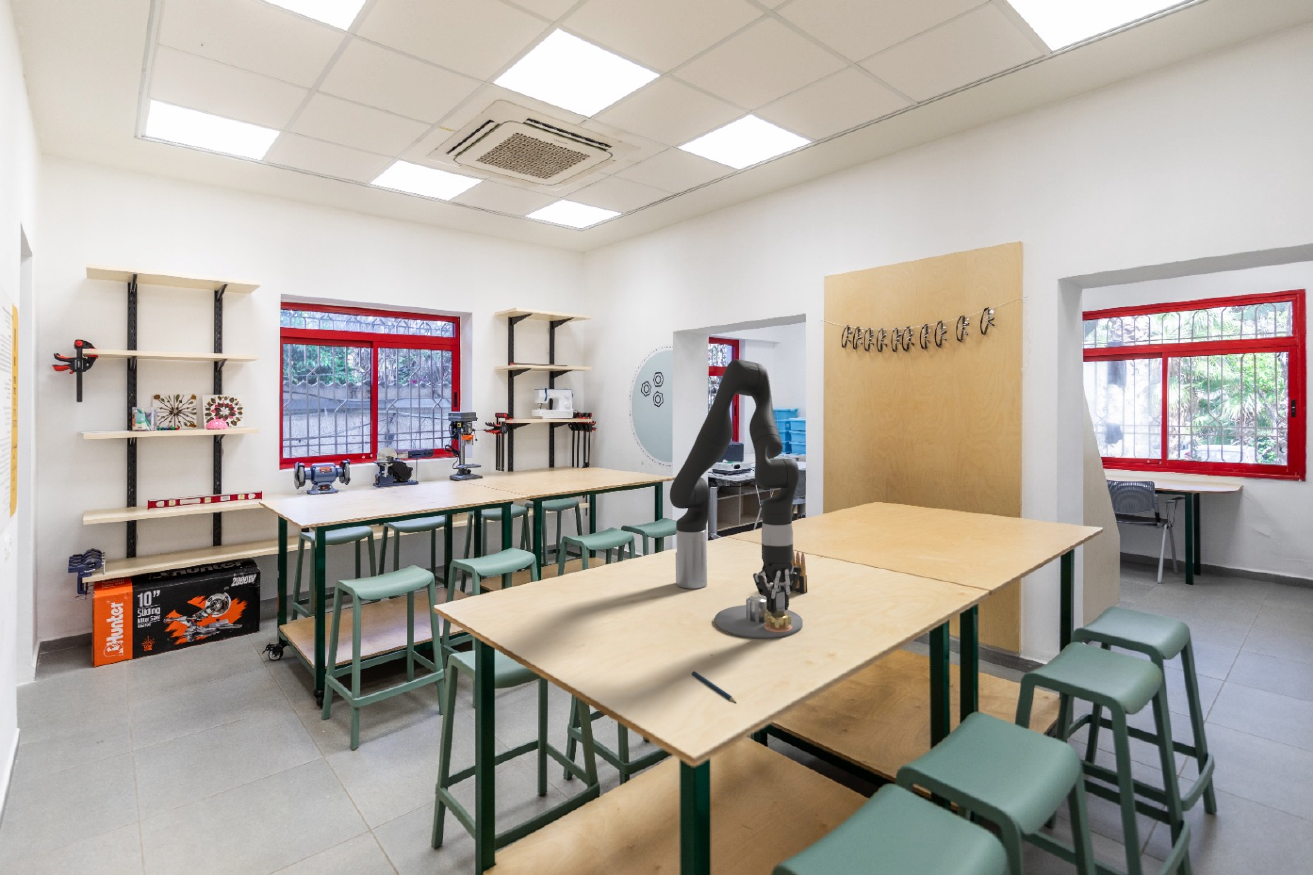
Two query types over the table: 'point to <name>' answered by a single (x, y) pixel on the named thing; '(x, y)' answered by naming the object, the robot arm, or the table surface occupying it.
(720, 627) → the carrier plate
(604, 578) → the table surface
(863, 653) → the table surface
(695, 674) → the pencil
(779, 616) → the planet gear
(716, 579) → the table surface
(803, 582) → the ammunition clip
